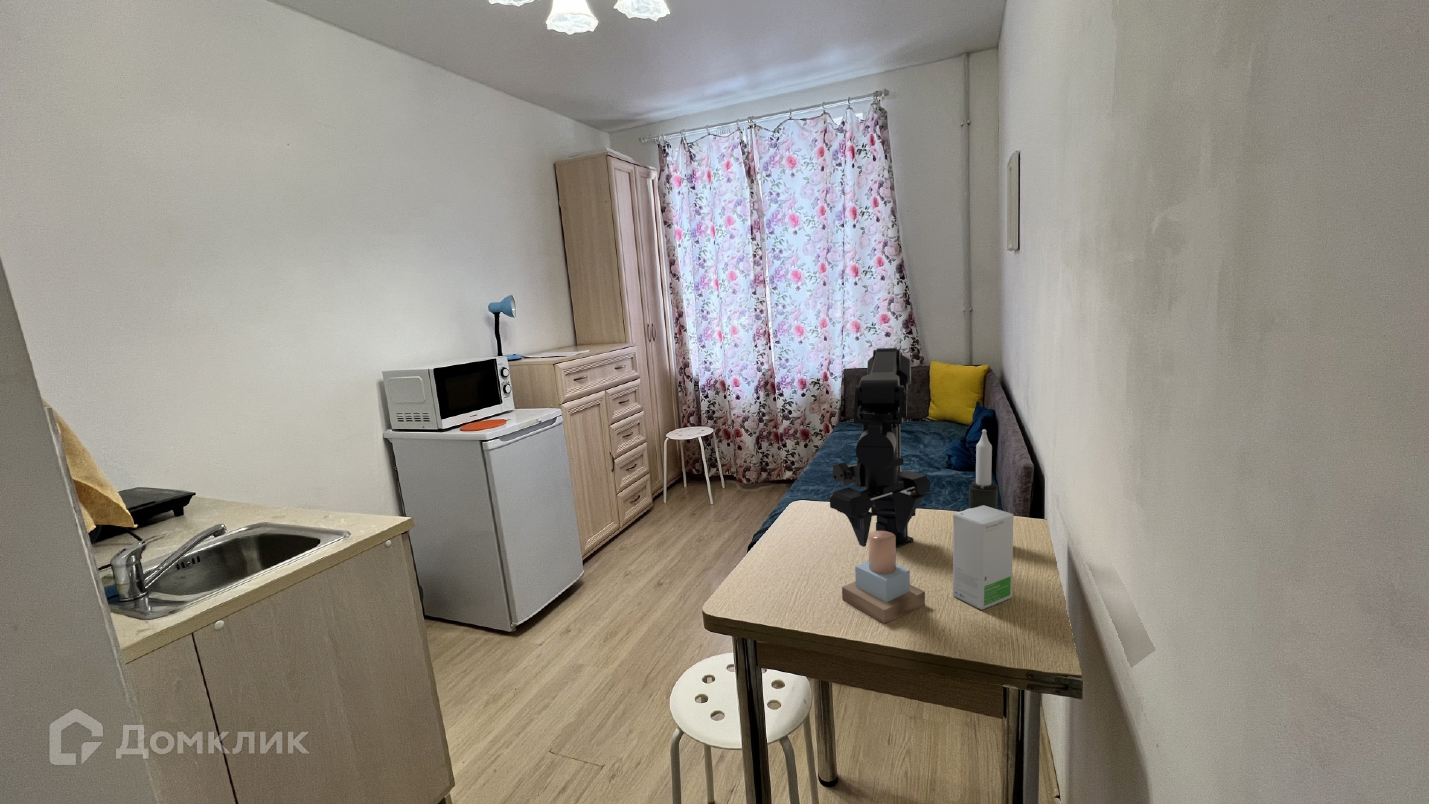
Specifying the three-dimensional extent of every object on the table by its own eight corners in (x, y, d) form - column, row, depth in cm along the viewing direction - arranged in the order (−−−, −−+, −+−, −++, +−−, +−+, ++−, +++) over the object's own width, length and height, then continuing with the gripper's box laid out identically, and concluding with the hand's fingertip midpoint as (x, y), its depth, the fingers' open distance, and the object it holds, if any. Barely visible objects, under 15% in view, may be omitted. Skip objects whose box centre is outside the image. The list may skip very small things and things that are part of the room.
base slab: (881, 583, 111) (881, 570, 110) (924, 604, 102) (924, 591, 102) (842, 599, 106) (842, 586, 106) (884, 624, 97) (884, 610, 97)
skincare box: (981, 611, 99) (982, 525, 96) (949, 595, 105) (950, 513, 102) (1013, 597, 103) (1016, 513, 100) (981, 582, 109) (982, 502, 106)
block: (878, 576, 108) (878, 556, 108) (909, 591, 102) (909, 570, 102) (855, 587, 105) (855, 566, 104) (886, 602, 99) (886, 580, 99)
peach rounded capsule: (881, 560, 106) (881, 528, 105) (901, 568, 102) (901, 536, 101) (863, 567, 104) (862, 535, 103) (883, 576, 100) (882, 543, 99)
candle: (997, 541, 125) (999, 427, 121) (994, 550, 121) (996, 433, 117) (971, 537, 128) (973, 425, 123) (967, 546, 124) (968, 431, 119)
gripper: (883, 434, 111) (884, 513, 113) (806, 453, 101) (810, 538, 104) (932, 445, 101) (932, 530, 104) (852, 467, 92) (855, 560, 95)
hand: (881, 538), depth 102 cm, fingers open, 9 cm apart
